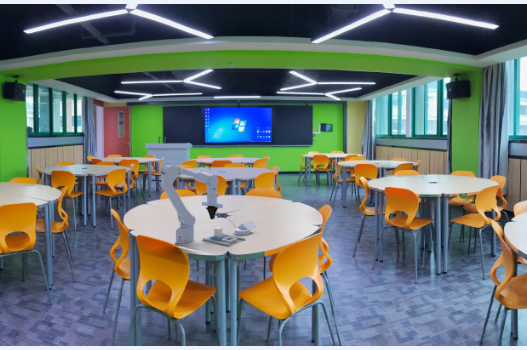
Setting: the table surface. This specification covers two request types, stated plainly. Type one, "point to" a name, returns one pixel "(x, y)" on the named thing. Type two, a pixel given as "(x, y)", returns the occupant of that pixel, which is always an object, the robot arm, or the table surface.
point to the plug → (218, 232)
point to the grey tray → (225, 240)
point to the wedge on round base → (245, 228)
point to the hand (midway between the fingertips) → (212, 218)
